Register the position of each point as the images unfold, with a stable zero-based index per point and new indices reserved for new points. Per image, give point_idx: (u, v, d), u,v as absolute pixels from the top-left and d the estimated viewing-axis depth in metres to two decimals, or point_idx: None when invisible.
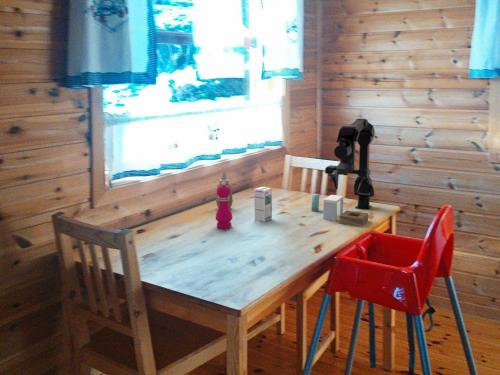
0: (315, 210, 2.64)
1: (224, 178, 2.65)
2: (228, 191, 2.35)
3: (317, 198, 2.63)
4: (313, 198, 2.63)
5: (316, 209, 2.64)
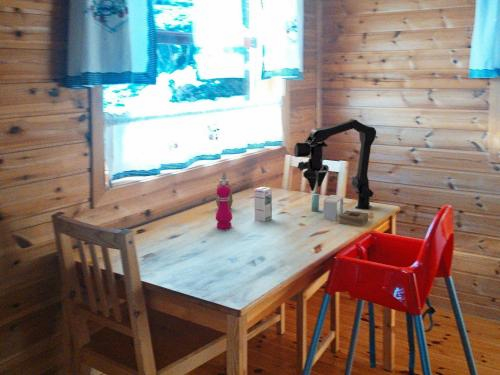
0: (315, 210, 2.64)
1: (224, 178, 2.65)
2: (228, 191, 2.35)
3: (317, 198, 2.63)
4: (313, 198, 2.63)
5: (316, 209, 2.64)
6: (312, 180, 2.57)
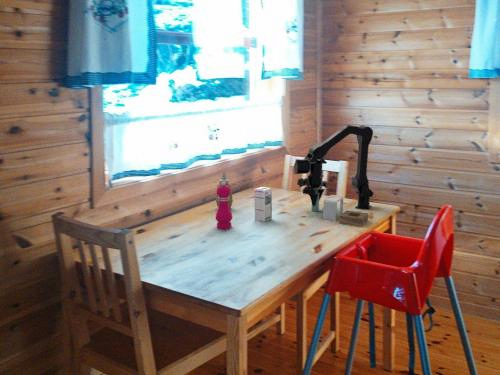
0: (315, 210, 2.64)
1: (224, 178, 2.65)
2: (228, 191, 2.35)
3: None
4: None
5: (316, 209, 2.64)
6: (313, 195, 2.61)
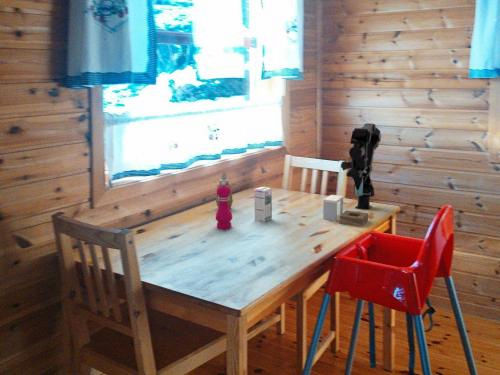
0: (359, 194, 2.56)
1: (224, 178, 2.65)
2: (228, 191, 2.35)
3: None
4: None
5: (360, 193, 2.56)
6: (357, 179, 2.54)
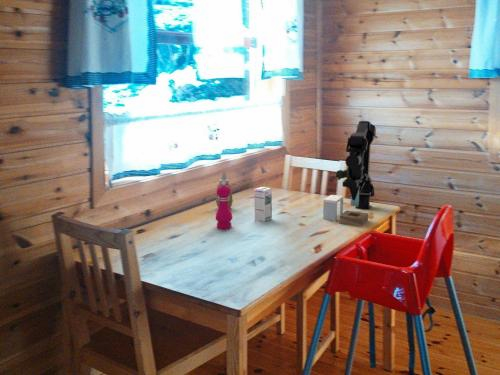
0: (355, 205, 2.44)
1: (224, 178, 2.65)
2: (228, 191, 2.35)
3: None
4: None
5: (356, 203, 2.44)
6: (354, 189, 2.41)
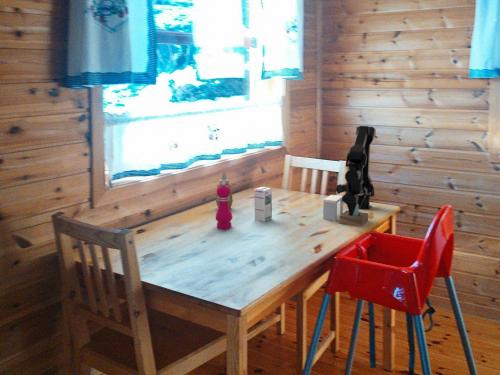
0: None
1: (224, 178, 2.65)
2: (228, 191, 2.35)
3: (356, 209, 2.44)
4: None
5: None
6: (351, 204, 2.40)
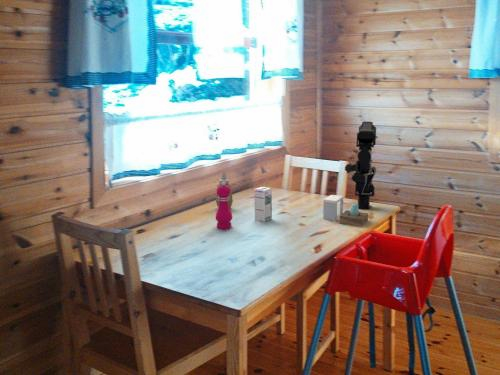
0: None
1: (224, 178, 2.65)
2: (228, 191, 2.35)
3: (356, 209, 2.44)
4: (352, 209, 2.45)
5: None
6: (360, 183, 2.47)
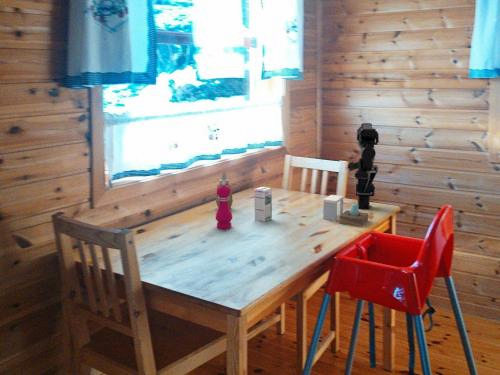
0: None
1: (224, 178, 2.65)
2: (228, 191, 2.35)
3: (356, 209, 2.44)
4: (352, 209, 2.45)
5: None
6: (363, 181, 2.50)
